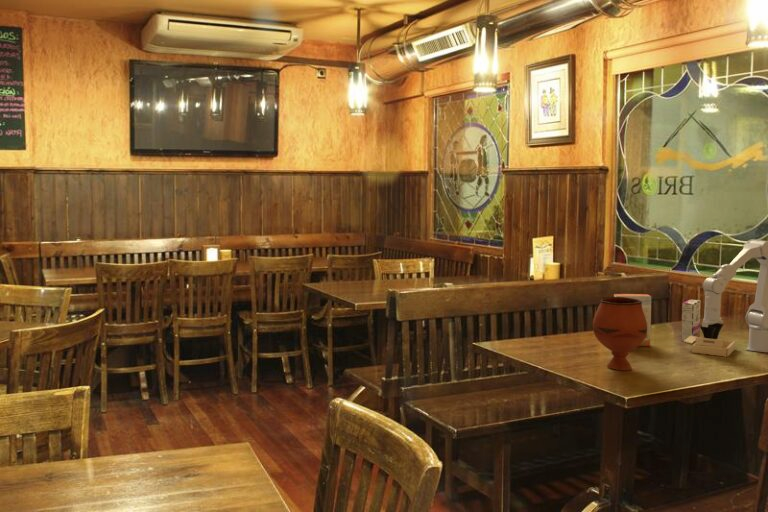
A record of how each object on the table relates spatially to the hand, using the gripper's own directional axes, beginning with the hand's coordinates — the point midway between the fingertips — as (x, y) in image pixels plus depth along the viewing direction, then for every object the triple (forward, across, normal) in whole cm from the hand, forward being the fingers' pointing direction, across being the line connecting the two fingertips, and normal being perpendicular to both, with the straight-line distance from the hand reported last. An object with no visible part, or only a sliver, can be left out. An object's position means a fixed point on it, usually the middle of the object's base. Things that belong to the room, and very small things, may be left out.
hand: (710, 342), depth 299 cm
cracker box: (+5, -7, +30) cm, 31 cm away
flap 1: (+1, +4, +9) cm, 10 cm away
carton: (+4, +5, +1) cm, 7 cm away
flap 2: (-1, -3, -1) cm, 3 cm away
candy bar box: (+5, +20, +16) cm, 26 cm away
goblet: (+5, -45, +16) cm, 48 cm away
